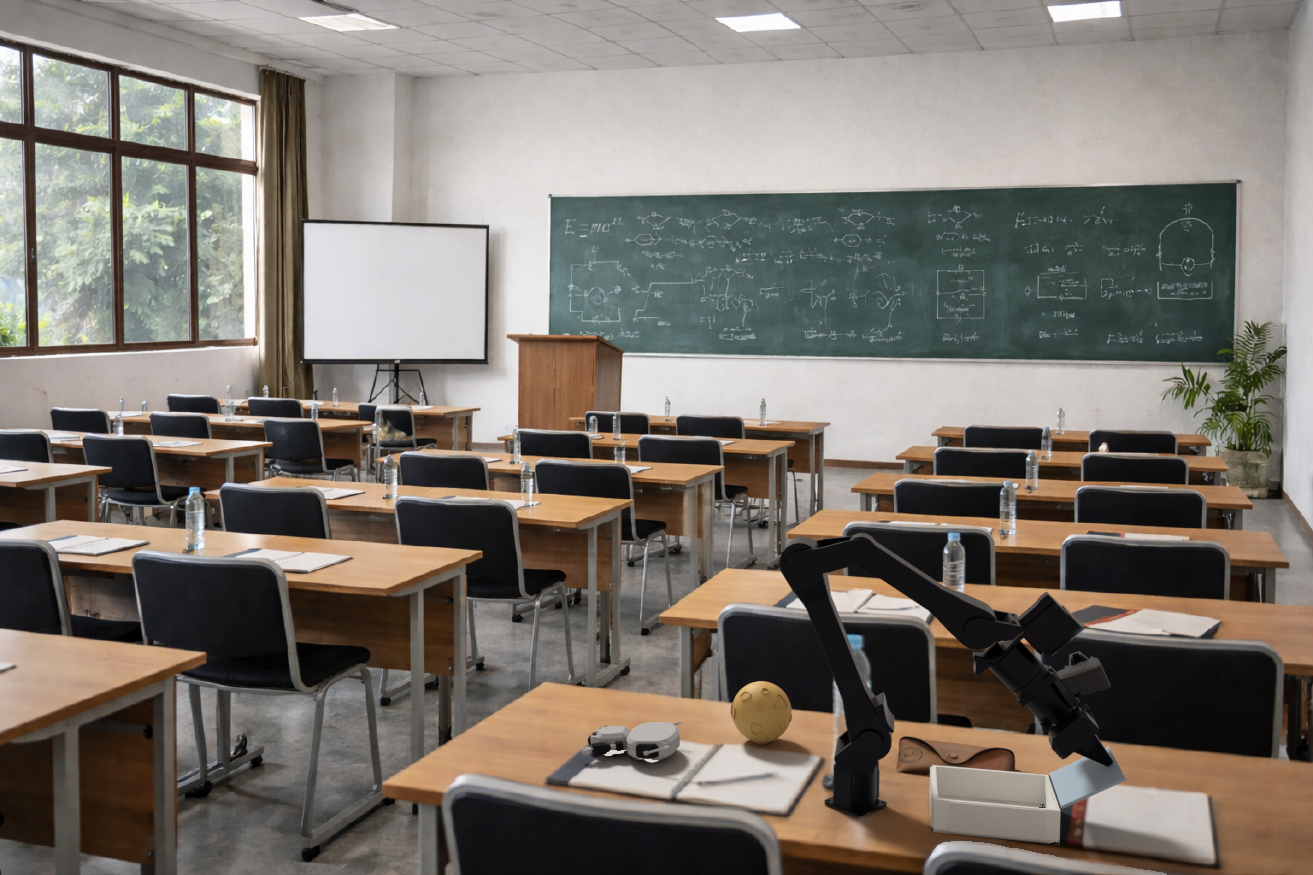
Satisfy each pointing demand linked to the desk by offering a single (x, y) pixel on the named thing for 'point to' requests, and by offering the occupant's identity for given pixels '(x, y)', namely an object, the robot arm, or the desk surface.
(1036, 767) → the desk surface
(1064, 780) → the flap
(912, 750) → the sunglasses case
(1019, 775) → the carton
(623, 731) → the robot toy
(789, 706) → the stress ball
